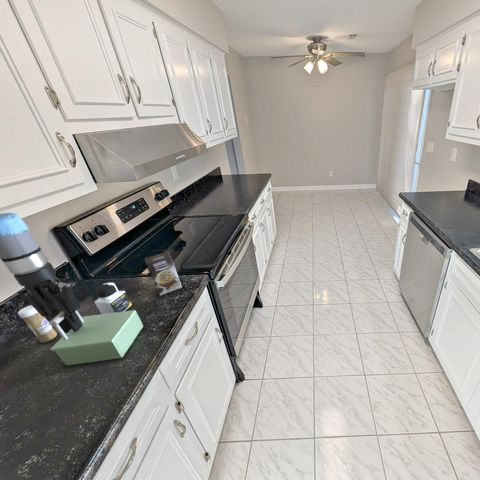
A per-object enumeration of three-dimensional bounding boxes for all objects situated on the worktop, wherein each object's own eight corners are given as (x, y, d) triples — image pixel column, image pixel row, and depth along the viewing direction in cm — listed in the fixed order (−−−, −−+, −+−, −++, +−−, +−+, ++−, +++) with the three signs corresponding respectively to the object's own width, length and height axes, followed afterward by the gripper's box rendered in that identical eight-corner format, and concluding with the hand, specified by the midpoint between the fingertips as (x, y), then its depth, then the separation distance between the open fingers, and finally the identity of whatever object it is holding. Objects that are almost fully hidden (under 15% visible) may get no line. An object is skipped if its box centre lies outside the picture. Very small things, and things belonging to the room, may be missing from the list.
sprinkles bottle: (54, 339, 89) (32, 310, 83) (37, 345, 87) (14, 315, 81) (59, 331, 93) (39, 302, 87) (43, 335, 91) (21, 307, 85)
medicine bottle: (117, 317, 97) (103, 292, 92) (102, 316, 98) (87, 291, 93) (132, 304, 103) (120, 280, 98) (117, 303, 105) (104, 280, 99)
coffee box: (159, 296, 107) (145, 264, 100) (157, 289, 112) (144, 257, 105) (182, 287, 112) (170, 256, 104) (180, 281, 117) (168, 250, 109)
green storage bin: (66, 365, 79) (54, 350, 76) (95, 332, 91) (86, 318, 88) (122, 358, 80) (112, 342, 77) (143, 326, 92) (136, 311, 89)
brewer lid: (51, 350, 76) (34, 329, 72) (83, 318, 88) (71, 298, 84) (112, 342, 77) (99, 321, 73) (136, 311, 89) (125, 291, 85)
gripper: (70, 257, 74) (106, 317, 85) (15, 263, 73) (58, 323, 84) (49, 272, 68) (90, 335, 78) (-12, 278, 67) (38, 341, 77)
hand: (73, 329), depth 81 cm, fingers closed on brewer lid, 2 cm apart
